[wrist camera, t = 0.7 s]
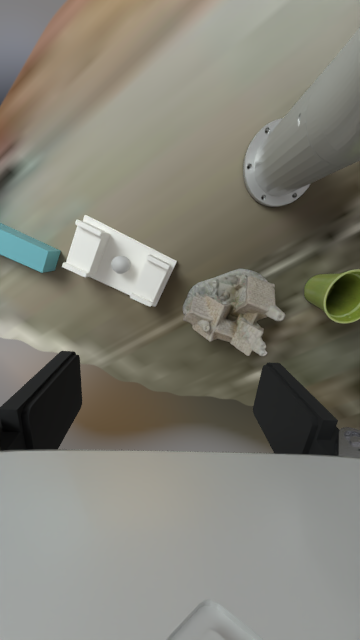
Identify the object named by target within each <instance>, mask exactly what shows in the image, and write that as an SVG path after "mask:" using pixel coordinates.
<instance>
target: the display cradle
mask: <svg viewBox="0 0 360 640" xmlns="http://www.w3.org/2000/svg"><path fill="white" fill-rule="evenodd" d="M75 224H76V225H78V226H77V229H76V232H75V235H74V238H73V242H72V245H71V248H70V251H69V254H68V258H67V261H66V262H64V263H63V265H62V267H63V268H65V269H68V270H70V271H72V272H74V273H77V274H79V275H81V276H83V277H88V276H89V277H91V278H93V279H95V280H97V281H100V282H102V283H104V284H106V285H108V286H111V287H113V288H115V289H117V290H119V291H122V292H124V293H126V294H128V295H130V298H132V299H134V300H136V301H138V302H140V303H143V304H145V305H147V306H149V307H151V305H152V306H154V307H156V305H157V303H158V301H159V298H160V296H161V294H162V292H163V290H164V288H165V286H166V283H167V281H168V279H169V277H170V275H171V273H172V271H173V269H174V266H175V264H176V262H177V261H176V260H174V259H172V258H170V257H168V256H166V255H164V254H162V253H160V252H158V251H156V250H154V249H152V248H150V247H148V246H146V245H144V244H142V243H140V242H138V241H136V240H134V239H132V238H130V237H128V236H126V235H124V234H122V233H121V232H119V231H117V230H115V229H113V228H111V227H109V226H107V225H105V224H103V223H101V222H99V221H97V220H95V219H93V218H91V217H89V216H87V215H85V216H84V219H83V221H80V220H76V223H75Z"/></svg>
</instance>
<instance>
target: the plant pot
mask: <svg viewBox="0 0 360 640" xmlns="http://www.w3.org/2000/svg"><path fill="white" fill-rule="evenodd" d="M304 291H305V294H304V296H305V298H306V299H307V301H309V302H310V303H312V304H314V305H315V306H317V307H318V308H320V309H322V310H323V311H324V312H325V313H326V315H327V316H328V317H329V318H330V319H331V320H333V321H335V322H337V323H351V322H354V321H357V320H359V319H360V269H355V270H349V271H347V272H344V273H341V274H320V275H316V276H314V277H312V278H311V279H310V280H309V281H308V282H307V283H306V285H305V288H304Z"/></svg>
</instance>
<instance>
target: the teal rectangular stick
mask: <svg viewBox="0 0 360 640" xmlns="http://www.w3.org/2000/svg"><path fill="white" fill-rule="evenodd" d="M60 252H61V251H60V250H58V249H55V248H53V247H51V246H49V245H47V244H45V243H43V242H40V241H38V240H36V239H34V238H32V237H30V236H27V235H25V234H23V233H21V232H19V231H17V230H15V229H12V228H10V227H8V226H6V225H4V224H2V223H0V254H1V255H3V256H5V257H7V258H10V259H12V260H14V261H16V262H19V263H21V264H23V265H26V266H28V267H30V268H32V269H35V270H37V271H39V272H41V273H44V272H49V271H55V268H56V265H57V262H58V259H59V255H60Z"/></svg>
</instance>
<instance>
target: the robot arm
mask: <svg viewBox="0 0 360 640" xmlns="http://www.w3.org/2000/svg"><path fill="white" fill-rule="evenodd" d="M265 132H266V133H267V134H266V133H265ZM359 160H360V28H359V29H358V30H357V31H356V32H355V34H354V35H353V36H352V37H351V39H350V40H349V41H348V42H347V44H346V45H345V46H344V47H343V49H342V50H341V51H340V52H339V53H338V54H337V56H336V57H335V58H334V59H333V60H332V62H331V63H330V64H329V65H328V66H327V67H326V69H325V70H324V71H323V72H322V73H321V75H320V76H319V77H318V78H317V79H316V80H315V82H314V83H313V84H312V85H311V86H310V87H309V89H308V90H307V91H306V92H305V93H304V94H303V96H302V97H301V98H300V99H299V100H298V101H297V103H296V104H295V105H294V106H293V107H292V108H291V110H290V111H289V112H288V113H287V114H286V115H285V117H284V118H281V119H278V120H274V121H272V122H270V123H269V124H267V125H266V126H264V127H263V128H262V129H261V130H260V131H259V132H258V133H257V134H256V136H255V137H254V138H253V140H252V141H251V143H250V145H249V147H248V149H247V151H246V154H245V158H244V164H243V177H244V182H245V185H246V188H247V190H248V192H249V193H250V195H251V196H252V197H253V198H254V199H255V200H256V201H257V202H259V203H260V204H262V205H265V206H269V207H280V206H284V205H287V204H289V203H292V202H293V201H295V200H297V199H298V198H299V197H300V196H301V195H302V194H303V193H304V192H305V191H306V190H307V189H308V187H309V186H310V184H311V183H313V182H315V181H317V180H319V179H321V178H323V177H325V176H328V175H330V174H332V173H334V172H336V171H338V170H340V169H343V168H345V167H347V166H349V165H351V164H353V163H355V162H357V161H359ZM247 167H249V169H247ZM292 195H293V197H292ZM261 197H263V200H262V199H261ZM81 405H82V392H81V376H80V358H79V355H76V353H75V352H70V351H61V352H60V353H59V354H58V355H56V356H55V357H54V358H53V359H52V360H51V361H50V362H49V363H48V364H47V365H46V366H45V367H44V368H42V369H41V370H40V371H39V372H38V373H37V374H36V375H35V376H34V377H33V378H32V379H30V380H29V381H28V382H27V383H26V384H25V385H24V386H23V387H22V388H21V389H20V390H19V391H18V392H17V393H15V394H14V395H13V396H12V397H11V398H10V399H9V400H8V401H7V402H6V403H4V404H3V405H2V406H1V407H0V640H360V430H357V429H354V428H349V427H345V428H341V429H340V430H339V429H338V428H337V427H336V424H337V422H338V420H337V419H336V418H335V417H334V416H333V415H332V414H331V413H330V412H329V411H328V410H327V409H326V408H325V407H324V406H323V405H322V404H321V403H320V402H319V401H318V400H317V399H315V398H314V397H313V396H312V395H311V394H310V393H309V392H308V391H307V390H306V389H305V388H304V387H303V386H302V385H301V384H300V383H299V382H298V381H297V380H296V379H295V378H294V377H293V376H292V375H291V374H290V373H289V372H288V371H287V370H286V369H285V368H284V367H283V366H282V365H281V364H280V363H267V364H266V365H264V366H263V368H262V373H261V377H260V381H259V385H258V389H257V394H256V398H255V402H254V406H253V412H254V415H255V417H256V419H257V421H258V423H259V425H260V427H261V428H262V430H263V432H264V434H265V436H266V438H267V440H268V441H269V443H270V446H271V447H272V449H273V451H274V453H234V452H184V451H133V450H132V451H131V450H130V451H129V450H67V449H62V450H61V449H58V448H59V446H60V444H61V442H62V441H63V439H64V437H65V435H66V433H67V431H68V429H69V428H70V426H71V424H72V423H73V421H74V419H75V417H76V416H77V414H78V412H79V410H80V408H81Z"/></svg>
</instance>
